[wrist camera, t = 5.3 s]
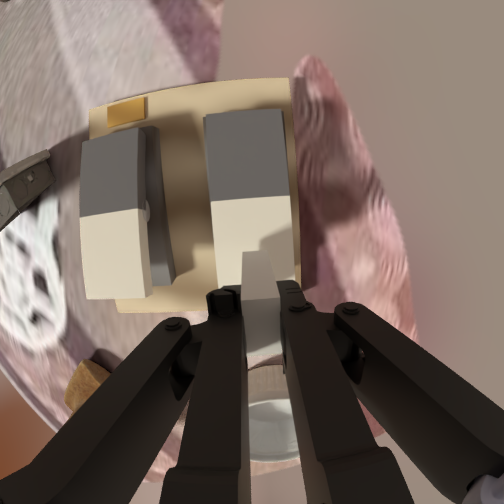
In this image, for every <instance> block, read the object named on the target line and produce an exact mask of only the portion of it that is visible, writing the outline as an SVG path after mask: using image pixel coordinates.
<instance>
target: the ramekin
mask: <svg viewBox="0 0 504 504" xmlns="http://www.w3.org/2000/svg"><path fill="white" fill-rule="evenodd" d="M248 401H249V441H250V461H255V462H267V463H270V462H283V461H289V460H293V459H297V458H300V455H299V449H298V443H297V438H296V432H295V426H294V421H293V415H292V409H291V404H290V398H289V393H288V387H287V382H286V376H285V374H283V365H269V366H263V367H259V368H256V369H253V370H251V371H249V372H248Z"/></svg>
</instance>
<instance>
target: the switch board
mask: <svg viewBox="0 0 504 504" xmlns="http://www.w3.org/2000/svg"><path fill="white" fill-rule="evenodd" d="M261 109H281V114H282V123H283V132H284V141H285V150H286V160H287V171H288V182H289V193H290V206H291V219H292V233H293V248H294V266H295V281H296V282H297V283H299V285H300V288H301V256H300V223H299V200H298V182H297V166H296V152H295V138H294V127H293V115H292V105H291V95H290V86H289V78H257V79H240V80H229V81H218V82H209V83H202V84H195V85H188V86H182V87H176V88H171V89H166V90H161V91H156V92H151V93H147V94H143V95H139V96H135V97H131V98H127V99H123V100H120V101H116V102H113V103H109V104H106V105H103V106H99V107H96V108H93V109H90V110H89V140H90V139H94V138H97V137H101V136H104V135H108V134H112V133H116V132H120V131H124V130H128V129H132V128H137V127H139V128H140V129H141V130H142V131H143V132H144V133H145V134H146V152H145V186H146V200H147V202H148V204H149V207H150V219H149V221H148V222H147V234H148V248H149V259H150V270H151V279H152V288H153V294H152V295H150V296H148V297H146V298H131V299H115V302H116V306H117V309H118V313H149V312H183V311H205V310H208V307H207V301H206V295H207V294H208V293H209V292H211V291H212V290H216V289H218V280H217V270H216V259H215V249H214V237H213V226H212V213H211V200H210V186H209V171H208V154H207V135H206V114H213V113H222V112H232V111H245V110H261Z"/></svg>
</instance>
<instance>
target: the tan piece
mask: <svg viewBox="0 0 504 504" xmlns="http://www.w3.org/2000/svg"><path fill="white" fill-rule="evenodd" d="M110 375H111V373H109V372H108V371H107V370H106V369H104V368H102V367H101V366H99V365H98V364H96V363H94V362H92V361H90V360H88V359H83V360H82V361H81V362H80V364H79V365H78V367H77V369H76V370H75V372H74V374H73V376H72V379H71V380H70V382H69V384H68V386H67V389H66V392H65V396H64V401H65V404H66V405H67V406H68V407H69V408H70V409H71V410H72V411H73V413H72V414H71V416H70V418H71V417H72V416H73V415H74V414H75V412H76V411H77V410H78V409H79V408H80V407H81V406H82V405H83V404H84V403H85V402H86V400H87V399H88V398H89V397H90V396H91V395H92V394H93V393H94V392H95V391H96V390H97V388H98V387H99V386H100V385H101V384H102V383H103V382H104V381H105V380H106V379H107V378H108V377H109V376H110ZM70 418H69V419H70ZM69 419H68V420H69ZM68 420H67V421H68ZM64 425H65V424H64ZM64 425H63V426H64ZM63 426H62V427H63Z"/></svg>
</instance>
